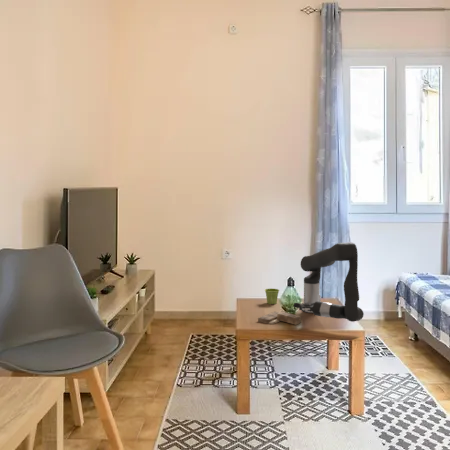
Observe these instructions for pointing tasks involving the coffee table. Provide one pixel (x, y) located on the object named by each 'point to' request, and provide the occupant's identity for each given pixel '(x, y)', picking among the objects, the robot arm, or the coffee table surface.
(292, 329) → the coffee table surface
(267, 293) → the plant pot
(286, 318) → the plank
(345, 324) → the coffee table surface
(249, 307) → the coffee table surface
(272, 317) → the floor board
